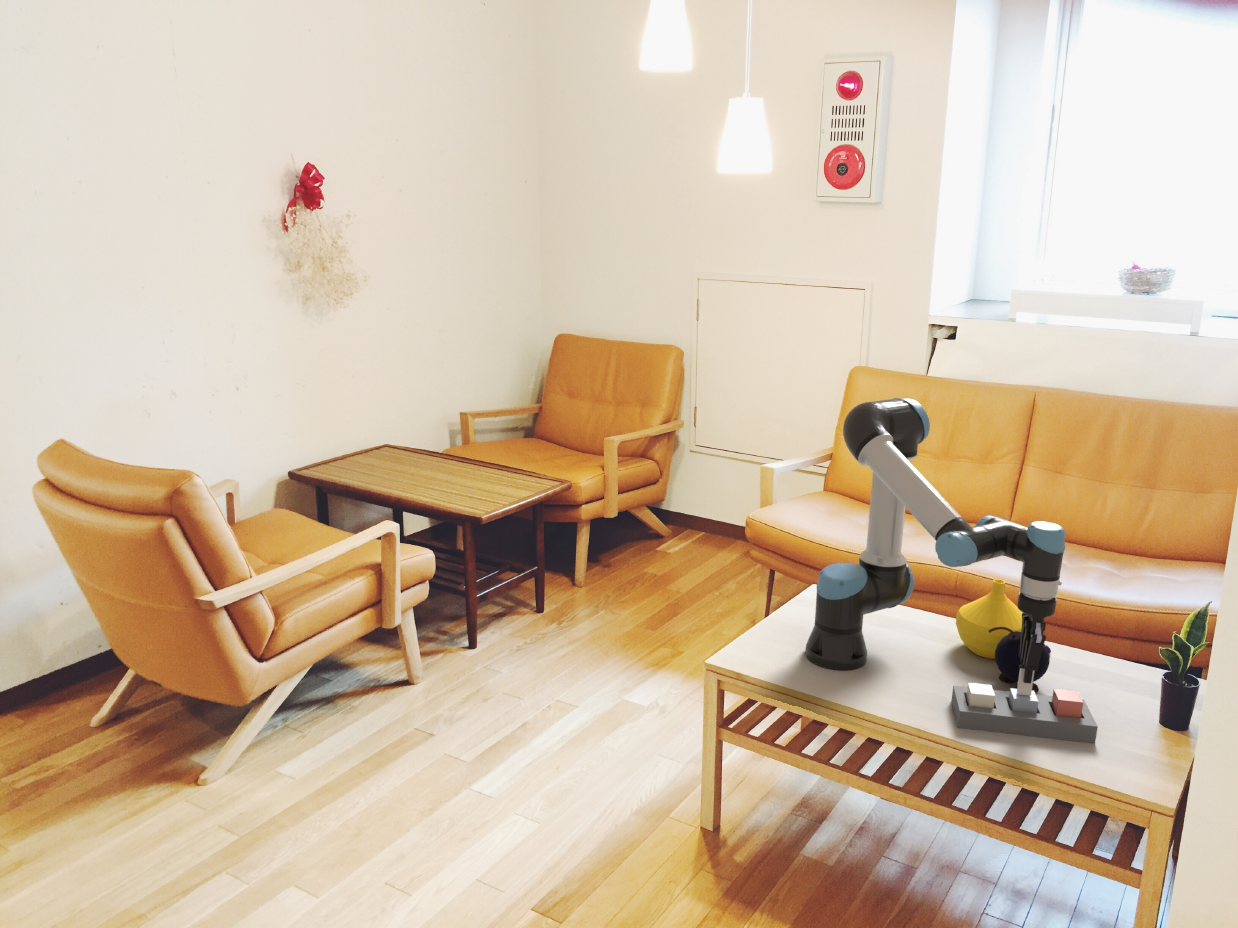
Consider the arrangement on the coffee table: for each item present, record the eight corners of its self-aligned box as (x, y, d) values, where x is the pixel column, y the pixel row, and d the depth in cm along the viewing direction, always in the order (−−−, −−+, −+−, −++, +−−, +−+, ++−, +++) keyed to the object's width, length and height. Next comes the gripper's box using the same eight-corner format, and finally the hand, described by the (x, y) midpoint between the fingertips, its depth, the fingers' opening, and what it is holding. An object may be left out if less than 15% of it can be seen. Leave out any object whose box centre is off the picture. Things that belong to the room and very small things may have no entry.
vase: (1035, 646, 254) (1044, 577, 249) (1020, 674, 239) (1030, 601, 234) (962, 629, 264) (970, 563, 259) (944, 655, 249) (952, 584, 244)
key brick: (1056, 715, 213) (1058, 699, 212) (1051, 704, 217) (1053, 688, 216) (1080, 718, 212) (1083, 702, 211) (1075, 707, 216) (1077, 691, 215)
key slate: (1012, 714, 215) (1014, 698, 214) (1008, 703, 219) (1010, 687, 218) (1036, 717, 214) (1038, 701, 213) (1031, 706, 218) (1033, 690, 217)
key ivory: (969, 708, 216) (971, 692, 215) (966, 698, 221) (968, 682, 220) (992, 711, 215) (995, 695, 214) (989, 700, 220) (991, 684, 219)
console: (957, 727, 214) (959, 710, 213) (951, 700, 226) (953, 685, 225) (1095, 743, 209) (1097, 726, 208) (1081, 715, 220) (1083, 699, 219)
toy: (1056, 693, 230) (1065, 634, 226) (1007, 700, 226) (1015, 640, 222) (1022, 669, 241) (1030, 613, 237) (975, 676, 238) (982, 619, 234)
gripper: (1063, 607, 202) (1048, 709, 209) (1050, 584, 215) (1036, 681, 221) (1025, 603, 204) (1011, 705, 210) (1014, 580, 216) (1001, 677, 222)
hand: (1023, 693), depth 216 cm, fingers closed
